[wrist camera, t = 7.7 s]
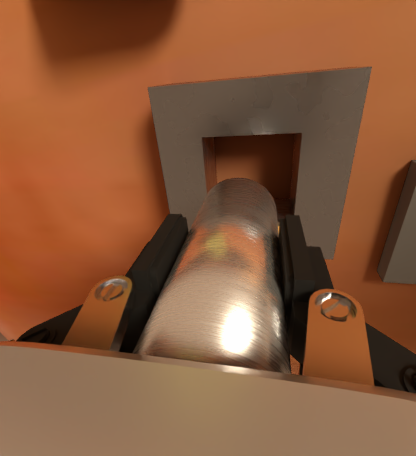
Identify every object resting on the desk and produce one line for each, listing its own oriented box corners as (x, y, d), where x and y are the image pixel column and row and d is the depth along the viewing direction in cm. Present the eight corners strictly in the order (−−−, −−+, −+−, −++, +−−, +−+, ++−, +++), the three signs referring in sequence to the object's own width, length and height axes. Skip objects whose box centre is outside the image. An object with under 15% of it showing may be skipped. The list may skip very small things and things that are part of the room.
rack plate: (350, 67, 16) (374, 66, 13) (323, 230, 22) (334, 261, 19) (169, 84, 19) (145, 87, 15) (189, 226, 25) (175, 253, 21)
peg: (278, 177, 13) (306, 382, 4) (274, 244, 15) (289, 476, 6) (199, 178, 14) (92, 354, 5) (205, 242, 16) (137, 444, 7)
